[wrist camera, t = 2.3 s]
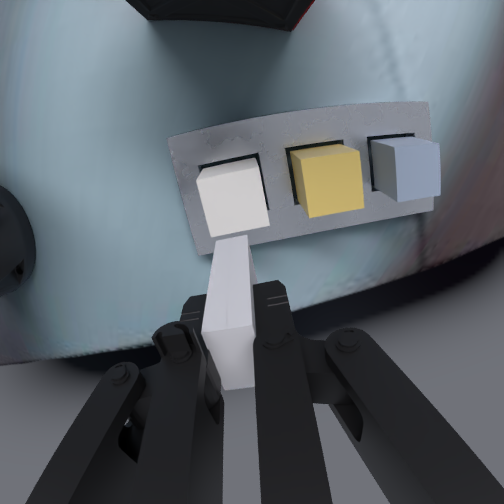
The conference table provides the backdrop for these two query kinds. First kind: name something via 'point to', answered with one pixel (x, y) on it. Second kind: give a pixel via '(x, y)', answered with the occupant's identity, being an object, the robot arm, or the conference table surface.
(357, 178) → the mustard key
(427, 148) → the slate key
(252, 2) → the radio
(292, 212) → the key panel
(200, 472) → the robot arm
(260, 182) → the ivory key
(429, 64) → the conference table surface
